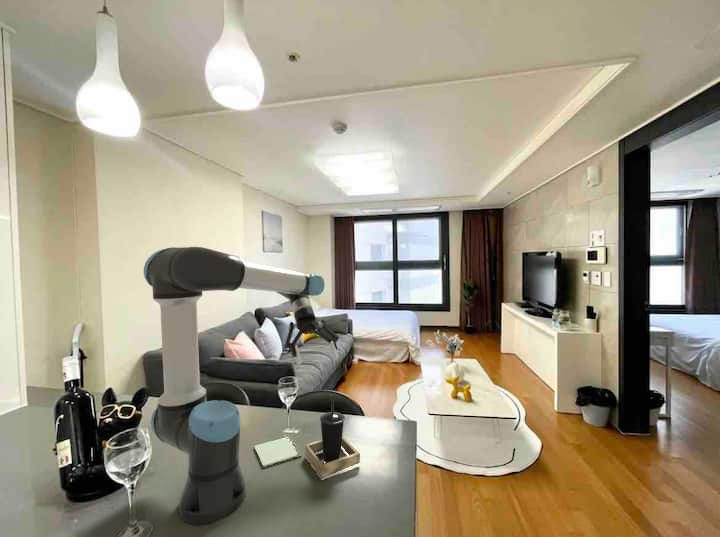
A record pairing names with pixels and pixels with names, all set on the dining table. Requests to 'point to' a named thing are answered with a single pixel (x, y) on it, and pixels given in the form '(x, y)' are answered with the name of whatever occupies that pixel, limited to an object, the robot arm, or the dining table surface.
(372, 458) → the dining table surface
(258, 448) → the sage mat
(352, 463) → the oak crate frame
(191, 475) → the robot arm
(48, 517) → the dining table surface
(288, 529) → the dining table surface
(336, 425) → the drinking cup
